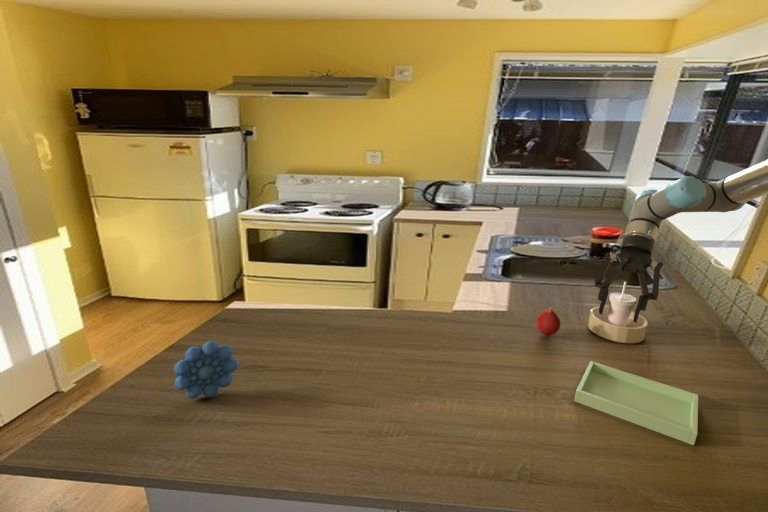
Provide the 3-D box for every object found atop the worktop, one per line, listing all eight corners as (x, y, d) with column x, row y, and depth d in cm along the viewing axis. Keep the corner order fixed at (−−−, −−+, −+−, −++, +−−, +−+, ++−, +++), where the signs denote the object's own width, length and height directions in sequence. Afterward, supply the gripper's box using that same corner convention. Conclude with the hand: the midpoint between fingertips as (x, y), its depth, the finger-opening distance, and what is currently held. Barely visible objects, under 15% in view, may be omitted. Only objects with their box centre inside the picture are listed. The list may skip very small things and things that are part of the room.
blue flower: (241, 379, 88) (236, 327, 84) (240, 399, 82) (235, 344, 78) (180, 388, 85) (172, 334, 81) (174, 409, 79) (166, 352, 75)
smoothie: (598, 330, 112) (608, 281, 108) (606, 322, 116) (616, 275, 112) (625, 339, 108) (636, 288, 103) (632, 330, 112) (643, 281, 108)
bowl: (646, 330, 114) (650, 314, 112) (640, 350, 103) (644, 333, 102) (593, 316, 121) (596, 301, 120) (583, 333, 111) (585, 318, 109)
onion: (538, 328, 113) (542, 301, 110) (560, 335, 110) (565, 307, 107) (531, 337, 108) (535, 308, 106) (554, 344, 105) (559, 314, 103)
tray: (695, 405, 84) (698, 394, 83) (693, 445, 73) (697, 433, 72) (588, 370, 94) (590, 360, 94) (573, 401, 84) (576, 390, 83)
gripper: (681, 255, 112) (662, 333, 105) (598, 241, 124) (576, 311, 116) (685, 240, 107) (665, 321, 99) (598, 227, 118) (574, 299, 110)
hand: (617, 315), depth 108 cm, fingers open, 7 cm apart
